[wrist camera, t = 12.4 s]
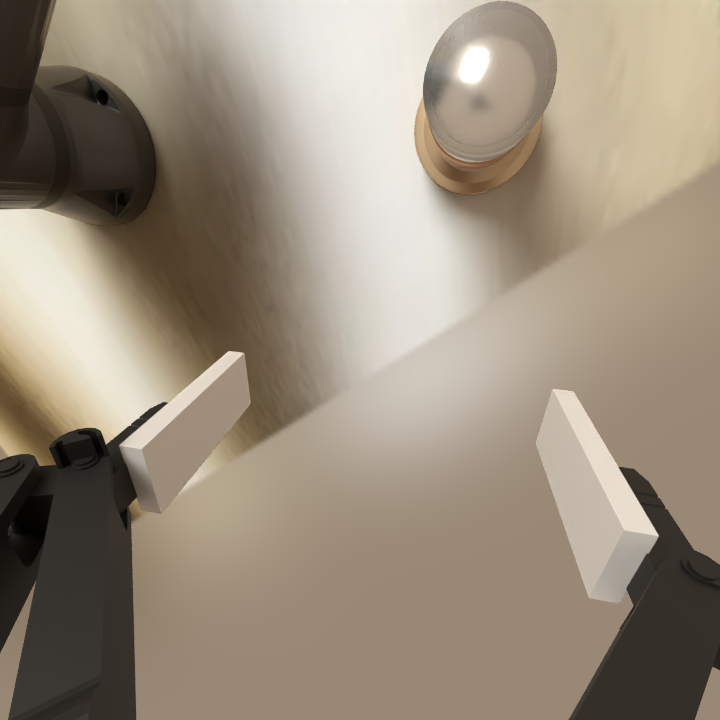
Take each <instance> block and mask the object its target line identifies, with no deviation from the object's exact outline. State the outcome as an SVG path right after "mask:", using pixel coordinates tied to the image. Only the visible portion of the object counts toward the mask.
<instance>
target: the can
mask: <svg viewBox="0 0 720 720" xmlns="http://www.w3.org/2000/svg"><path fill="white" fill-rule="evenodd" d="M556 74H557V55H556V48H555V44H554V40H553V38H552V35H551V33H550V31H549V29H548V27H547V26H546V24H545V23H544V21H543V20H542V19H541V18H540V17H539V16H538V15H537V14H536V13H535V12H534V11H532V10H530V9H529V8H527V7H525V6H523V5H520V4H518V3H513V2H508V1H498V2H491V3H487V4H483V5H480V6H478V7H476V8H474V9H471V10H470V11H468V12H467V13H465V14H463V15H462V16H461V17H459V18H458V19H457V20H456V21H455V22H454V23H453V24H452V25H451V26H450V27H449V28H448V29H447V30H446V31H445V33H444V34H443V35H442V36H441V38H440V39H439V41H438V43H437V44H436V46H435V48H434V50H433V52H432V54H431V56H430V59H429V62H428V64H427V68H426V72H425V77H424V84H423V100H424V107H425V112H426V115H427V118H428V122H429V127H430V130H431V133H432V136H433V138H434V141H435V144H436V146H437V148H438V151H439V153H440V155H441V156H442V158H443V159H444V160H445V161H446V163H447V164H449V165H450V166H451V167H453V168H454V169H456V170H459V171H462V172H468V173H475V172H481V171H484V170H487V169H489V168H491V167H493V166H494V165H496V164H497V163H499V162H500V161H501V160H502V159H503V158H504V157H506V156H507V155H508V154H509V153H510V152H511V151H512V150H513V149H514V148H515V147H516V146H517V145H518V144H519V143H520V142H521V141H522V139H523V138H524V137H525V136H526V134H527V133H528V132H529V131H530V130H531V129H532V128H533V127H534V125H535V124H536V123H537V122H538V120H539V119H540V117H541V116H542V114H543V113H544V111H545V109H546V107H547V105H548V103H549V101H550V98H551V95H552V93H553V89H554V85H555V81H556Z"/></svg>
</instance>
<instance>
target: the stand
mask: <svg viewBox="0 0 720 720" xmlns="http://www.w3.org/2000/svg"><path fill="white" fill-rule="evenodd" d="M542 121H543V114H542V116H541V117H540V119H539V120H538V122H537V123H536V124H535V125H534V127H533V128H532V129H531V130H530V131H529V132H528V133H527V134H526V136H525V137H524V138H523V139H522V141H521V142H520V143H519V144H518V145H517V146H516V147H515V148H514V149H513V150H512V151H511V152H510V153H509V154H508V155H507V156H506V157H504V158H503V159H502V160H501V161H500V162H499V163H497V164H496V165H494V166H493V167H491V168H489V169H487V170H484V171H481V172H475V173H468V172H462V171H459V170H456V169H454V168H453V167H451V166H450V165H449V164H447V163H446V161H445V160H444V159H443V158H442V156H441V155H440V153H439V151H438V148H437V146H436V144H435V141H434V138H433V136H432V133H431V130H430V127H429V122H428V118H427V115H426V112H425V107H424V100H423V97H422V99H421V102H420V105H419V107H418V111H417V115H416V120H415V131H414V136H415V145H416V150H417V154H418V157H419V160H420V162H421V164H422V166H423V168H424V169H425V170H426V172H427V173H428V175H429V176H430V177H431V178H432V179H433V180H434V181H435V182H436V183H437V184H438V185H440V186H441V187H443V188H444V189H446V190H449V191H451V192H454V193H458V194H466V195H467V194H478V193H483V192H486V191H489V190H491V189H493V188H495V187H497V186H499V185H501V184H502V183H504V182H506V181H507V180H508V179H510V178H511V177H512V176H513V175H514V174H516V173H517V172H518V171H519V170H520V169H521V167H522V166H523V165H524V164H525V162H526V161H527V160H528V158H529V157H530V155H531V153H532V151H533V150H534V148H535V146H536V143H537V141H538V138H539V135H540V131H541V127H542Z"/></svg>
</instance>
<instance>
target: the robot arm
mask: <svg viewBox="0 0 720 720" xmlns="http://www.w3.org/2000/svg"><path fill="white" fill-rule="evenodd" d="M55 4H56V0H0V209H43V210H47V211H50V212H53V213H56V214H59V215H62V216H66V217H69V218H72V219H75V220H78V221H81V222H85V223H88V224H95V225H113V224H122V223H126V222H128V221H130V220H132V219H134V218H135V217H137V216H138V215H139V214H140V213H141V212H142V211H143V209H144V208H145V207H146V205H147V203H148V201H149V199H150V197H151V194H152V191H153V187H154V181H155V157H154V151H153V146H152V142H151V139H150V135H149V133H148V130H147V127H146V125H145V123H144V121H143V119H142V117H141V115H140V113H139V112H138V110H137V108H136V107H135V106H134V104H133V103H132V102H131V100H130V99H129V98H128V97H127V96H126V94H125V93H124V92H123V91H122V90H121V89H119V88H118V87H117V86H116V85H115V84H113V83H112V82H110V81H109V80H107V79H105V78H103V77H101V76H99V75H96V74H94V73H91V72H88V71H85V70H83V69H80V68H76V67H71V66H41V67H39V64H40V60H41V56H42V52H43V49H44V45H45V41H46V38H47V34H48V30H49V26H50V23H51V19H52V15H53V12H54V8H55ZM250 404H251V401H250V393H249V385H248V377H247V369H246V362H245V354H244V353H241V352H233V351H228V352H227V353H226V354H225V355H223V356H222V357H221V358H220V359H219V360H218V361H217V362H215V363H214V364H213V365H212V366H211V367H210V368H208V369H207V370H206V371H205V372H204V373H203V374H201V375H200V376H199V377H198V378H197V379H196V380H194V381H193V382H192V383H191V384H190V385H189V386H187V387H186V388H185V389H184V390H183V391H182V392H180V393H179V394H178V395H177V396H176V397H175V398H173V399H172V400H171V401H170V402H169V403H166V402H163V403H161V404H159V405H157V406H155V407H153V408H151V409H149V410H148V411H147V412H145V413H144V414H143V415H142V416H141V417H140V418H139V419H137V420H136V421H134V422H133V423H132V424H131V426H128V427H127V428H126V429H125V430H124V431H122V432H121V433H120V434H119V435H117V436H116V437H115V438H114V439H113V440H111V441H110V442H109V443H108V444H107V445H106V444H105V441H104V438H103V436H102V433H101V431H100V430H98V429H96V428H83V429H77V430H74V431H71V432H68V433H66V434H64V435H62V436H60V437H59V438H58V439H56V440H55V441H54V442H53V443H52V444H51V446H50V447H49V449H50V451H51V454H52V456H53V458H54V460H55V462H56V465H50V466H39V464H38V462H37V460H36V458H35V456H33V455H30V454H19V455H15V456H10V457H7V458H5V459H2V460H0V652H1V650H2V648H3V646H4V644H5V642H6V640H7V638H8V636H9V634H10V632H11V630H12V628H13V626H14V624H15V622H16V620H17V618H18V616H19V614H20V612H21V610H22V607H23V606H24V604H25V602H26V599H27V597H28V595H29V593H30V591H31V589H32V587H33V585H34V583H35V581H36V584H35V590H34V595H33V599H32V604H31V609H30V614H29V619H28V624H27V629H26V634H25V640H24V644H23V649H22V654H21V659H20V664H19V669H18V674H17V678H16V684H15V688H14V694H13V698H12V703H11V708H10V713H9V718H8V720H136V696H135V695H136V693H135V655H134V619H133V618H134V616H133V581H132V580H133V578H132V543H131V542H132V540H131V513H130V510H129V507H128V506H129V505H130V504H131V503H132V502H133V501H134V500H135V498H136V497H137V500H138V503H139V506H140V509H141V510H144V511H149V512H154V513H159V514H162V513H163V512H164V510H165V509H166V508H167V507H168V506H169V504H170V503H171V502H172V501H173V499H174V498H175V497H176V496H177V494H178V493H179V492H180V491H181V489H182V488H183V487H184V486H185V484H186V483H187V482H188V481H189V480H190V478H191V477H192V476H193V475H194V473H195V472H196V471H197V470H198V468H199V467H200V466H201V465H202V463H203V462H204V461H205V460H206V459H207V457H208V456H209V455H210V454H211V452H212V451H213V450H214V449H215V447H216V446H217V445H218V444H219V442H220V441H221V440H222V439H223V438H224V436H225V435H226V434H227V433H228V431H229V430H230V429H231V428H232V426H233V425H234V424H235V423H236V421H237V420H238V419H239V418H240V417H241V415H242V414H243V413H244V412H245V410H246V409H247V408H248V407H249V405H250ZM536 446H537V448H538V451H539V454H540V457H541V460H542V463H543V466H544V469H545V472H546V475H547V478H548V481H549V483H550V486H551V489H552V492H553V495H554V498H555V501H556V504H557V507H558V510H559V512H560V516H561V518H562V521H563V524H564V527H565V530H566V533H567V536H568V539H569V541H570V545H571V548H572V550H573V553H574V556H575V559H576V562H577V565H578V568H579V571H580V574H581V577H582V579H583V582H584V585H585V588H586V591H587V594H588V597H589V598H592V599H597V600H602V601H607V602H613V603H618V604H619V603H620V601H621V600H622V598H623V596H624V595H625V593H626V591H628V594H629V596H630V598H631V600H632V603H633V605H634V607H633V608H632V610H631V611H630V613H629V615H628V616H627V618H626V620H625V621H624V623H623V624H622V626H621V627H620V631H619V632H618V634H617V636H616V638H615V639H614V641H613V643H612V645H611V646H610V648H609V650H608V652H607V653H606V655H605V657H604V659H603V661H602V662H601V664H600V666H599V667H598V669H597V671H596V673H595V675H594V676H593V678H592V680H591V682H590V683H589V685H588V687H587V689H586V690H585V692H584V694H583V696H582V697H581V699H580V701H579V703H578V704H577V706H576V708H575V710H574V712H573V713H572V715H571V717H570V718H569V720H695V717H696V714H697V711H698V708H699V705H700V702H701V699H702V696H703V693H704V690H705V687H706V684H707V681H708V678H709V675H710V672H711V669H712V667H714V668H717V669H719V670H720V565H719V564H718V563H716V562H715V561H713V560H712V559H711V558H709V557H708V556H706V555H704V554H701V553H699V552H697V551H695V550H694V549H693V548H692V546H691V545H690V543H689V542H688V540H687V539H686V538H685V536H684V534H683V533H682V531H681V530H680V528H679V527H678V525H677V524H676V522H675V521H674V519H673V518H672V516H671V515H670V513H669V512H668V510H667V509H665V506H664V504H663V503H662V501H661V500H660V498H658V495H657V494H656V492H655V490H654V489H653V487H652V486H651V484H650V483H649V482H648V481H647V480H646V479H645V478H644V477H643V476H641V475H640V474H639V473H638V472H637V471H636V470H634V469H630V468H623V467H618V466H617V464H616V463H615V461H614V459H613V458H612V456H611V454H610V452H609V451H608V449H607V447H606V446H605V444H604V442H603V441H602V439H601V437H600V436H599V434H598V432H597V431H596V429H595V427H594V425H593V424H592V422H591V420H590V419H589V417H588V415H587V414H586V412H585V410H584V409H583V407H582V405H581V404H580V402H579V400H578V398H577V397H576V395H575V393H574V392H573V391H566V390H557V389H553V390H552V393H551V396H550V399H549V402H548V406H547V409H546V412H545V416H544V419H543V422H542V425H541V428H540V431H539V435H538V438H537V441H536Z"/></svg>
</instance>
